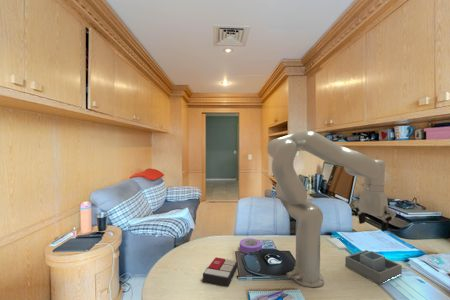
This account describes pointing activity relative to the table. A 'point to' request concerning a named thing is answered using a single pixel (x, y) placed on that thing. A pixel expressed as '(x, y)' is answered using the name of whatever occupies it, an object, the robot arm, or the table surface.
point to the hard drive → (337, 243)
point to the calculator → (220, 272)
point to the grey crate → (377, 277)
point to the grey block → (373, 261)
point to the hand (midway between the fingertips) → (372, 226)
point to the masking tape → (250, 245)
